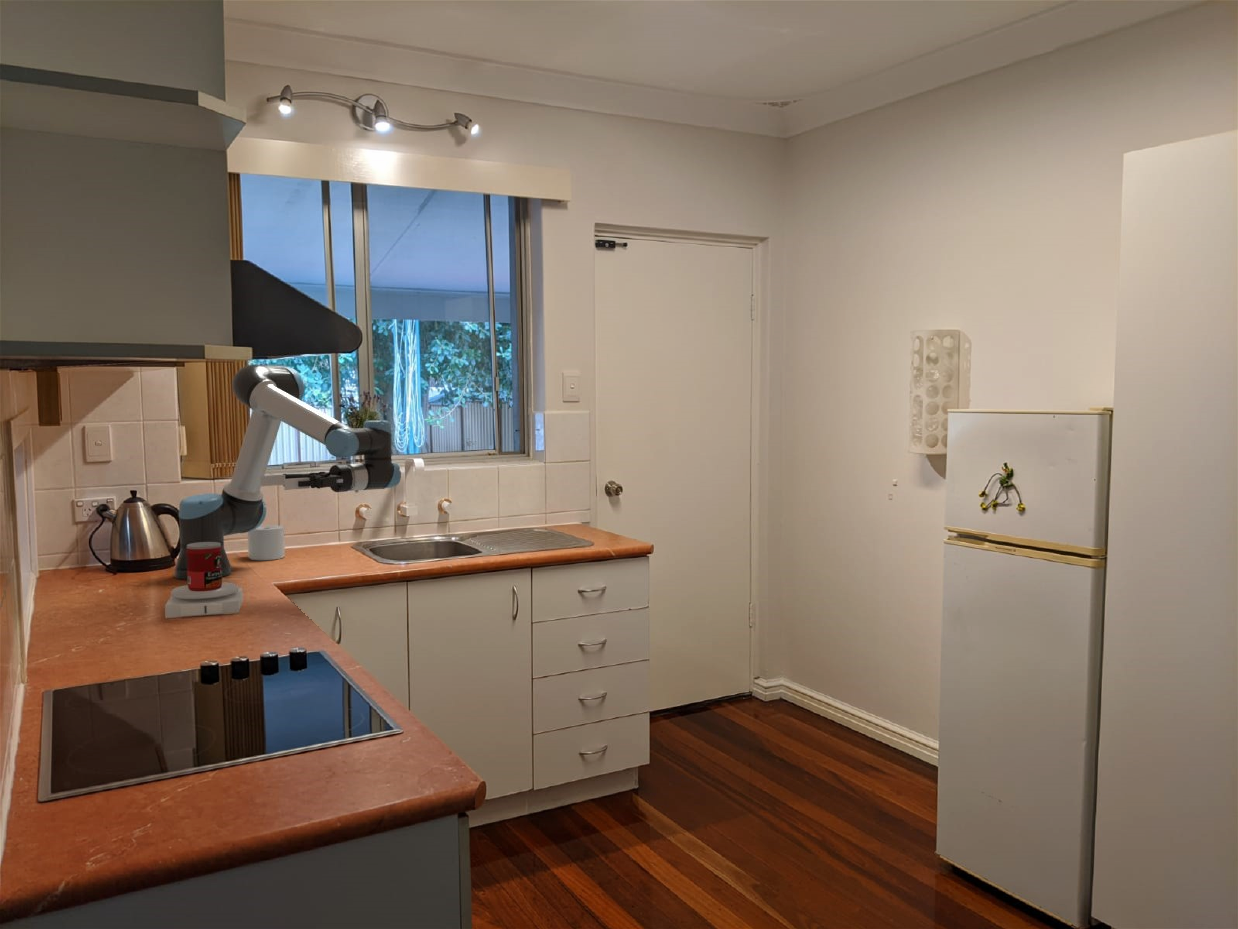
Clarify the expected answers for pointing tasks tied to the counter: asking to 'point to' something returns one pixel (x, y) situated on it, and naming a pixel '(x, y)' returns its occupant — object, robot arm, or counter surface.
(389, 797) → the counter surface
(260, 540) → the toilet tissue
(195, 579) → the canned food
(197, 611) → the kitchen scale
